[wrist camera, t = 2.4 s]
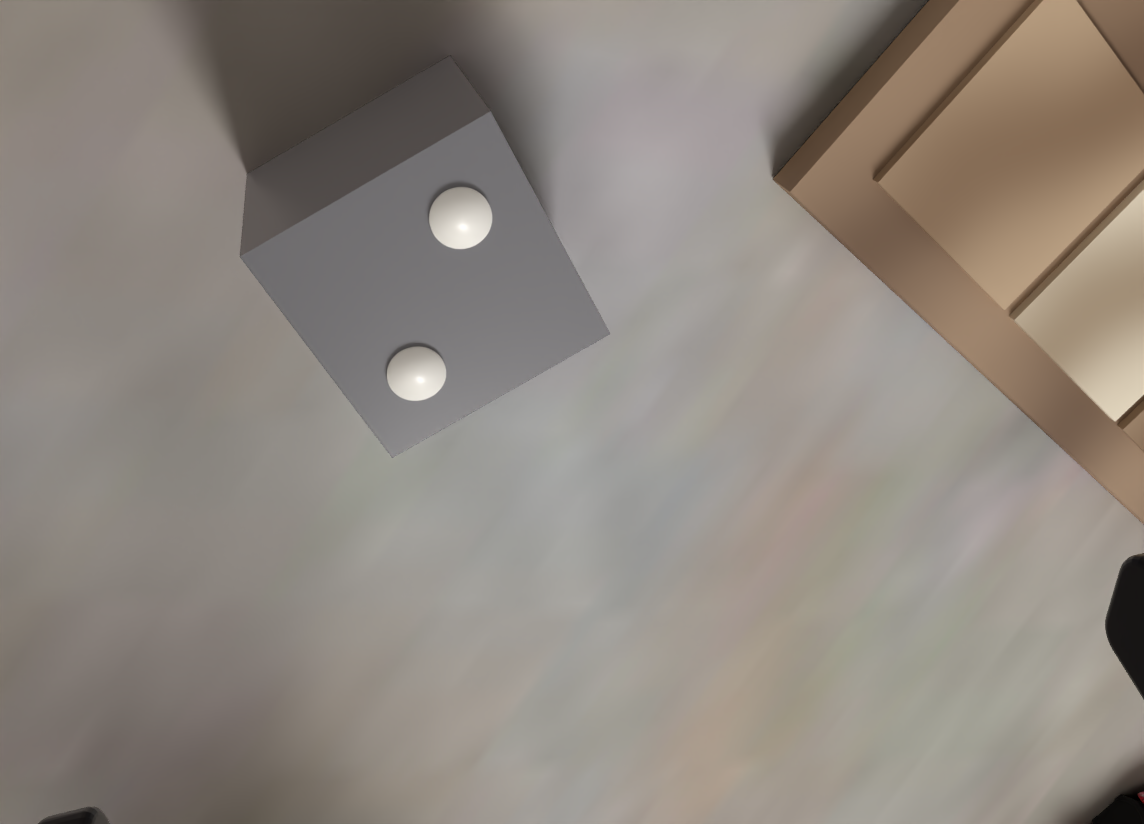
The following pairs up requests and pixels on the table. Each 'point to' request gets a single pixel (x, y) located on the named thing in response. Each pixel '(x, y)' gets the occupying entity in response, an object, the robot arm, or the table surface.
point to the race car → (1123, 811)
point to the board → (1008, 205)
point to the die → (416, 258)
